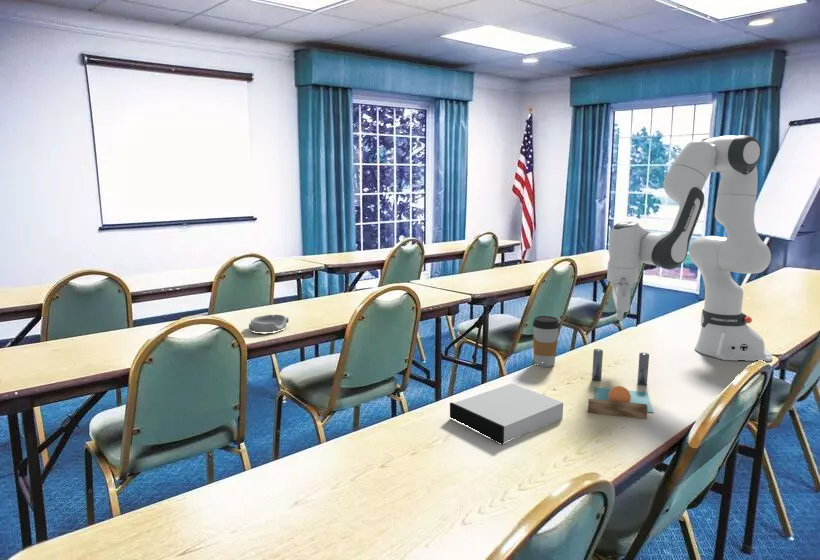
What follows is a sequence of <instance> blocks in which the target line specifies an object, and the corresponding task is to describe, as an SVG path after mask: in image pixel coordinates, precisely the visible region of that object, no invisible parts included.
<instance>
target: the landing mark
mask: <svg viewBox="0 0 820 560" xmlns="http://www.w3.org/2000/svg"><path fill="white" fill-rule="evenodd" d="M611 389H612V388H608V387H607V388H606V387H597V386H595V387H594V396H595V397H594V399H599V400H609V398H608V395H609V392H610V390H611ZM627 390H628V389H627ZM628 391H629V393H630V395H631V400H630V402H629V403H639V404H647V407H648V408H647V414H648V413H649V414H654V409H653V406H652V402H651V400H650V396H649V393H648V391H640V390H639V391H638V390H628Z"/></svg>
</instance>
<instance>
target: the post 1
mask: <svg viewBox="0 0 820 560" xmlns="http://www.w3.org/2000/svg"><path fill="white" fill-rule="evenodd" d="M592 356H593V357H592V375H591V380H592V381H595V382H600V381H602V373H603V372H602V371H603V357H604V350H602V349H601V348H600V349H599V348H595V349H593V355H592Z"/></svg>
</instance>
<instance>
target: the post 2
mask: <svg viewBox="0 0 820 560" xmlns="http://www.w3.org/2000/svg"><path fill="white" fill-rule="evenodd" d="M649 361H650V353H647V352H639V355H638V368H637V385H639V386H647V385H648V378H649V377H648V376H649V375H648V373H649V365H650V364H649Z"/></svg>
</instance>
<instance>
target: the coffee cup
mask: <svg viewBox="0 0 820 560" xmlns="http://www.w3.org/2000/svg"><path fill="white" fill-rule="evenodd" d="M532 327H533V328H532V330H533V335H532V336H533V337H532V339H533V341H532V342H533V359H534V360H533V361H534V363H535V365H536V366H537V367H541V368H550V367H554V366H555V363H556V356H557V348H558V341H559V329H560V322H559V318H557V317H555V316H551V315H539V316H535V317H534V319H533V322H532ZM542 362H543V363H542ZM537 364H538V365H537Z"/></svg>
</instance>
